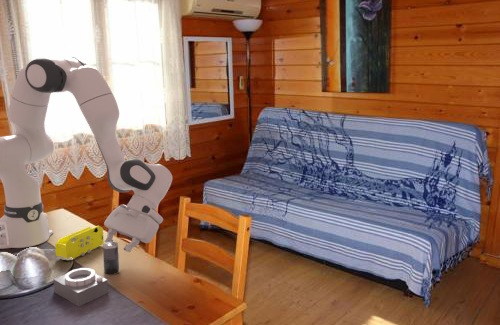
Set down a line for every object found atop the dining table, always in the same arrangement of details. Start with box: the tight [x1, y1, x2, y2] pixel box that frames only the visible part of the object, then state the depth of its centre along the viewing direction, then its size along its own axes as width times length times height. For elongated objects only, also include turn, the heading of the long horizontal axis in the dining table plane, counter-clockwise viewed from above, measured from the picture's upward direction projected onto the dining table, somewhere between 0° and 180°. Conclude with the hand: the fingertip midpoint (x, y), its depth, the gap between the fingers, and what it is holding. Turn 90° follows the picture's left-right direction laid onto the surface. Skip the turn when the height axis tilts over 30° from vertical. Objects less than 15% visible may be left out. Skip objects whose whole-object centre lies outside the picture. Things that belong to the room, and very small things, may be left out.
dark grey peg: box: [102, 241, 120, 276], centre depth 128 cm, size 4×4×9 cm
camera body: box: [53, 267, 109, 307], centre depth 115 cm, size 12×9×6 cm
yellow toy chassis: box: [54, 225, 105, 260], centre depth 140 cm, size 16×6×8 cm, turn 155°
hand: (116, 247), depth 129 cm, fingers open, 8 cm apart
